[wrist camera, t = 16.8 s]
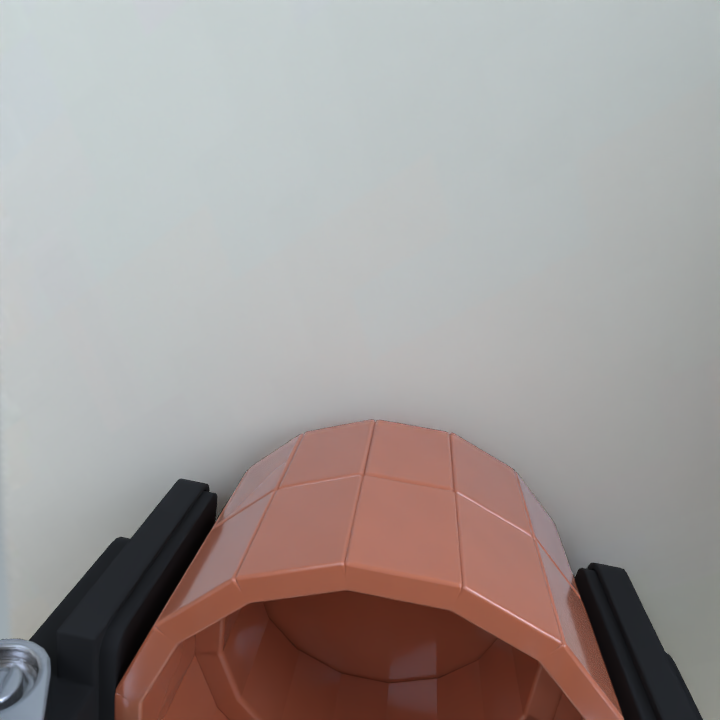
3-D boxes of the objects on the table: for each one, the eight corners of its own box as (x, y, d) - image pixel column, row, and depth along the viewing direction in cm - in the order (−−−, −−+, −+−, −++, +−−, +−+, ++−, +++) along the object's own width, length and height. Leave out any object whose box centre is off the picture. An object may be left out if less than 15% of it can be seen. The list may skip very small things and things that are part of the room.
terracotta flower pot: (159, 519, 12) (13, 708, 8) (427, 340, 10) (426, 463, 6) (353, 732, 13) (318, 994, 9) (623, 608, 11) (736, 865, 7)
